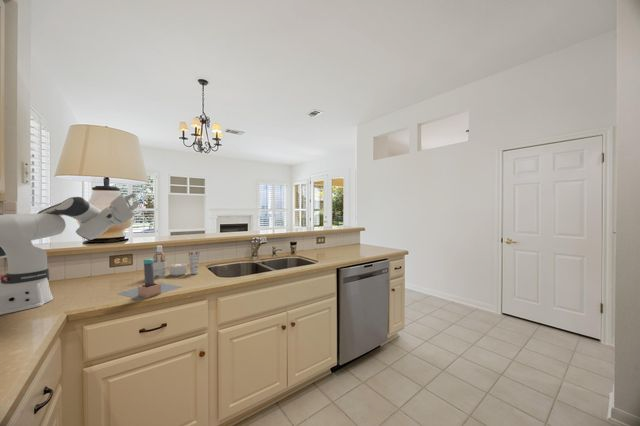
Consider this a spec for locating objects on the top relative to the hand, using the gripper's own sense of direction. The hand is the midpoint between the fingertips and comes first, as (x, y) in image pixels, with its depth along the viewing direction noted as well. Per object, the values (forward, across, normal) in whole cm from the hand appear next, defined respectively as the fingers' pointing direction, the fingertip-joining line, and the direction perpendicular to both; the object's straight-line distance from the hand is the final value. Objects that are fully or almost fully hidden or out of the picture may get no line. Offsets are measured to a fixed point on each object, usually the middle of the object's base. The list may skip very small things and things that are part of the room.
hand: (136, 198), depth 132 cm
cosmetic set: (-18, +16, -46) cm, 52 cm away
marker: (-22, +41, -21) cm, 51 cm away
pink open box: (-23, +42, -21) cm, 52 cm away
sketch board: (-24, +36, -25) cm, 50 cm away
